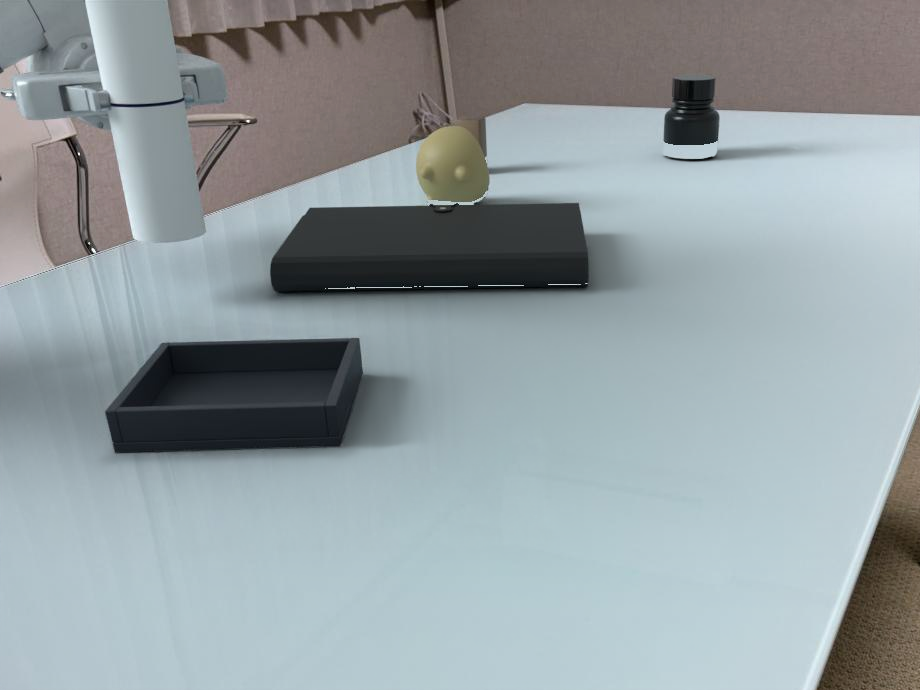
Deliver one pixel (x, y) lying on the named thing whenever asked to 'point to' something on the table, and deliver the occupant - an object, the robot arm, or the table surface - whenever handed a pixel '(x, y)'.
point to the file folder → (433, 247)
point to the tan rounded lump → (452, 166)
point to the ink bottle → (692, 112)
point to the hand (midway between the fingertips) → (147, 97)
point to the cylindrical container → (148, 118)
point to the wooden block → (475, 129)
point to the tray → (239, 396)
